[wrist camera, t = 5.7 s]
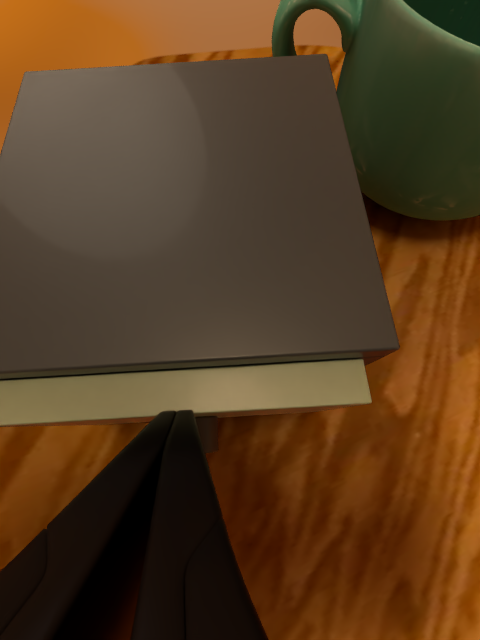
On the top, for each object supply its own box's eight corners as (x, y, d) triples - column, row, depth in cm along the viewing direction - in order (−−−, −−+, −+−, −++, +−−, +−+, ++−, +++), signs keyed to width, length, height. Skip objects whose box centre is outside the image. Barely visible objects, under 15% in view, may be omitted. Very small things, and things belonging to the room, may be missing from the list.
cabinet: (318, 387, 15) (402, 349, 7) (99, 401, 15) (-68, 377, 7) (293, 209, 19) (327, 52, 11) (118, 219, 19) (23, 70, 11)
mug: (511, 128, 21) (707, -87, 12) (500, 273, 17) (774, 112, 8) (293, 82, 23) (322, -130, 14) (240, 200, 19) (235, 12, 10)
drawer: (318, 438, 14) (382, 453, 7) (97, 451, 14) (-36, 478, 7) (289, 230, 17) (315, 119, 11) (118, 240, 17) (44, 135, 11)
